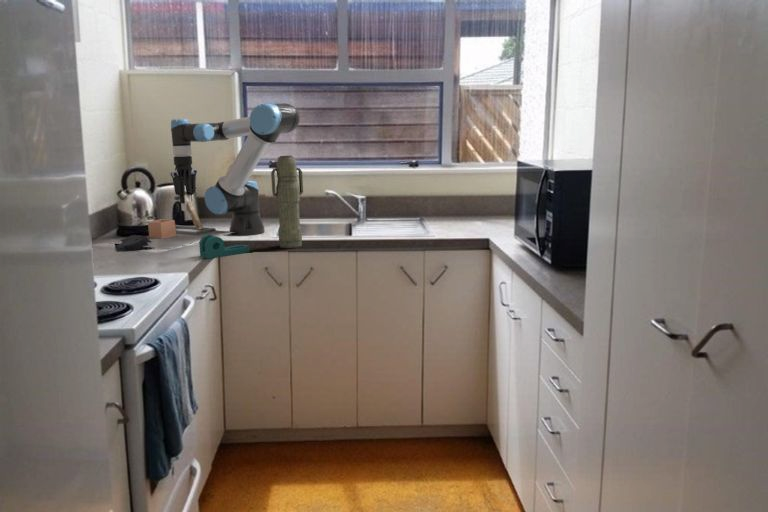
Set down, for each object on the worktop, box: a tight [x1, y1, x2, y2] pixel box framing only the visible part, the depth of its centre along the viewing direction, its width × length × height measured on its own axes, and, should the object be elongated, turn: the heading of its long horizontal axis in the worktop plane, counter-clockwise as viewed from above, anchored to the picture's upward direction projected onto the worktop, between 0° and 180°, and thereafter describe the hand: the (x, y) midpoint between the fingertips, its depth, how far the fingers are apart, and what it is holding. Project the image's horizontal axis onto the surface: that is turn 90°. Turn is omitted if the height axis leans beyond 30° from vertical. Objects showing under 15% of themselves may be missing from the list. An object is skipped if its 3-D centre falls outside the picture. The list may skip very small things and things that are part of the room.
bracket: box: [199, 234, 250, 260], centre depth 257 cm, size 18×7×8 cm, turn 129°
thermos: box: [270, 155, 304, 249], centre depth 267 cm, size 9×12×35 cm
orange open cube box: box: [147, 218, 177, 239], centre depth 290 cm, size 8×8×8 cm
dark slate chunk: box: [114, 234, 154, 253], centre depth 278 cm, size 15×22×5 cm
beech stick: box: [184, 190, 204, 232], centre depth 299 cm, size 10×2×17 cm, turn 60°
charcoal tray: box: [175, 224, 216, 236], centre depth 304 cm, size 26×12×2 cm, turn 60°
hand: (186, 210), depth 300 cm, fingers closed on beech stick, 2 cm apart
